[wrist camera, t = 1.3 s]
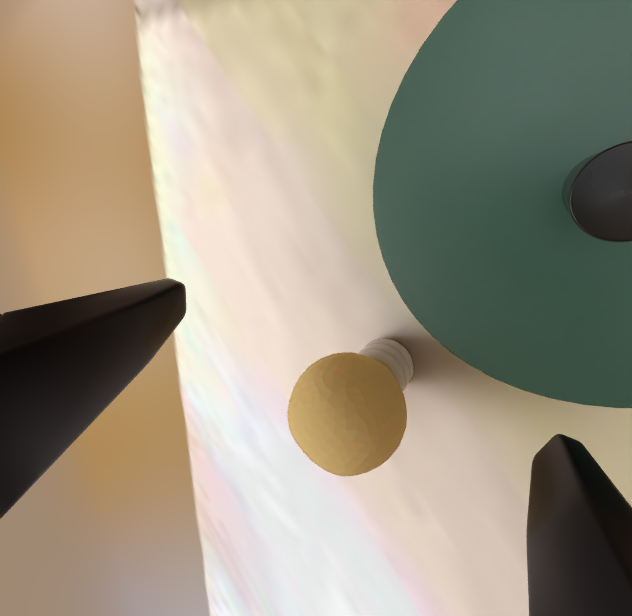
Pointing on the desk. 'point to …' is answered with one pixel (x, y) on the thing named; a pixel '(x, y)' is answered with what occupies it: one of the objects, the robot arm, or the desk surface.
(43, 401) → the robot arm
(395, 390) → the light bulb
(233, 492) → the desk surface
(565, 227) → the tin lid
